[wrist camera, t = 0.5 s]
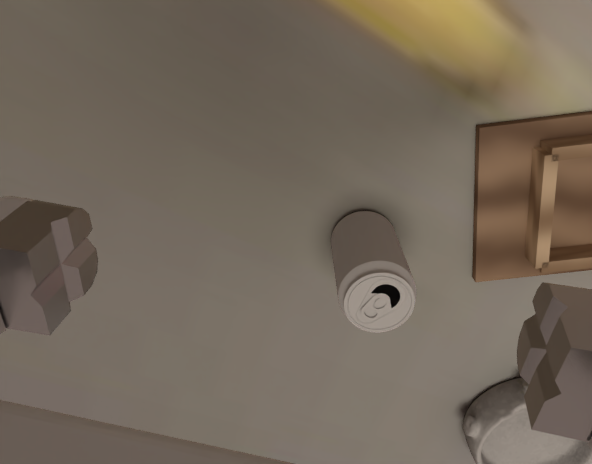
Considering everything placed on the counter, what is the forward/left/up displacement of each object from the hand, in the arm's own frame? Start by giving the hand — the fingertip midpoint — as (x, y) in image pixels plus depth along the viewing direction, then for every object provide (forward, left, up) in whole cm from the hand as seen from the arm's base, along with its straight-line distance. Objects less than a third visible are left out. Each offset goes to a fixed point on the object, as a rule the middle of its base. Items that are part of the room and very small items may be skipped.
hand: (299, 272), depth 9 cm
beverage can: (+19, +4, -39) cm, 43 cm away
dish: (+45, +21, -39) cm, 63 cm away
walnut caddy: (+17, +26, -38) cm, 49 cm away
